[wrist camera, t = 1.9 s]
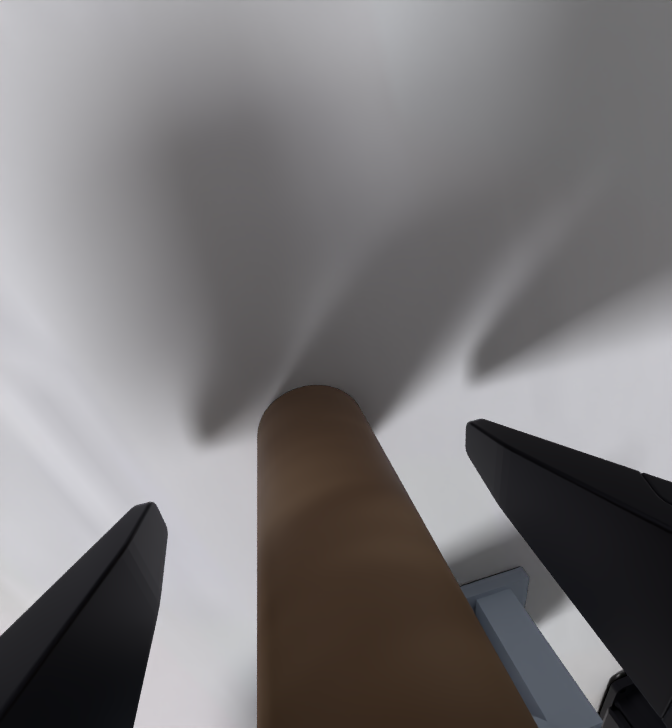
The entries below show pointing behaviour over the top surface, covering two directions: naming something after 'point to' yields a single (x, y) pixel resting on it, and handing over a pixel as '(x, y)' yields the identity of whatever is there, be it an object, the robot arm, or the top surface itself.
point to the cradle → (528, 653)
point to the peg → (359, 588)
